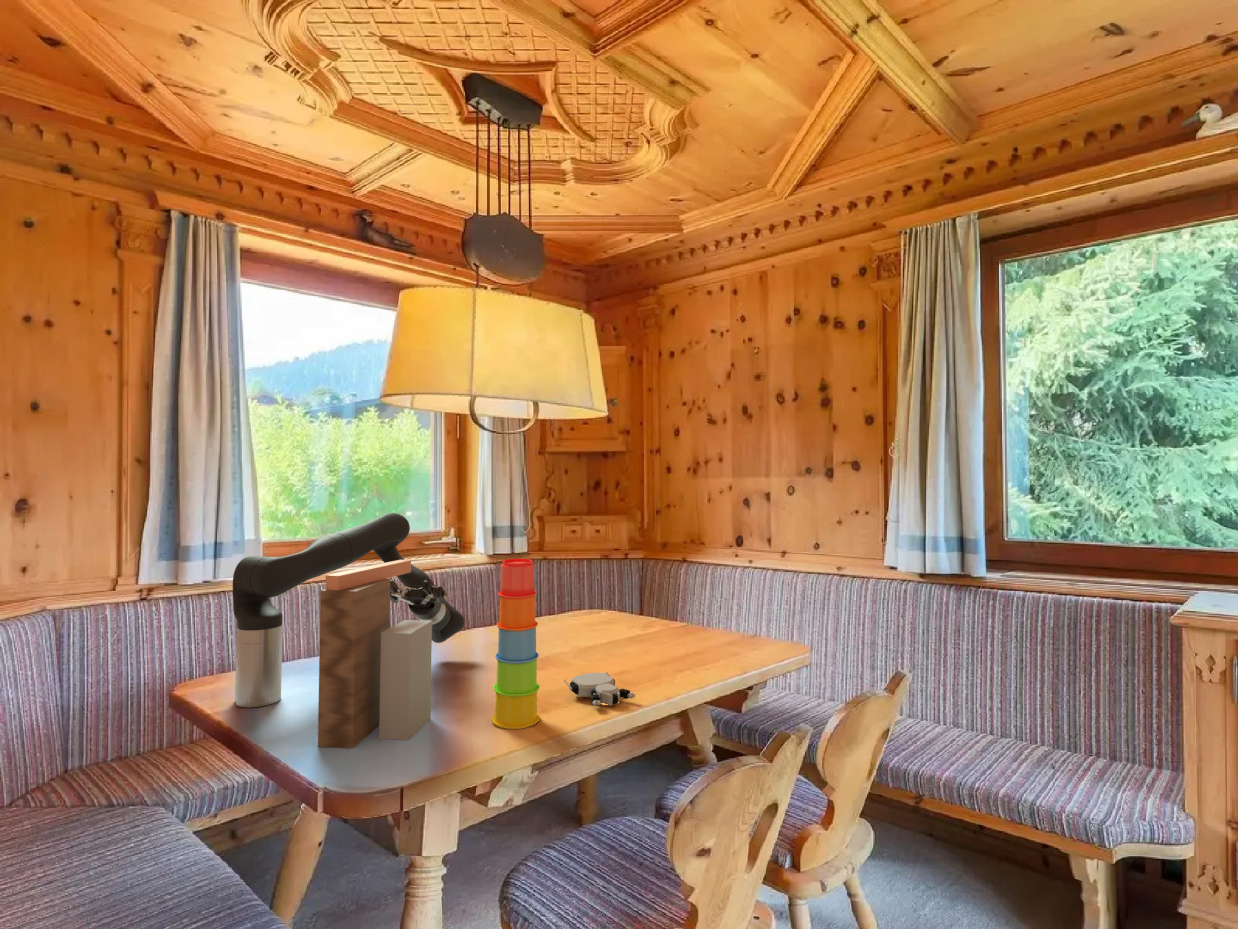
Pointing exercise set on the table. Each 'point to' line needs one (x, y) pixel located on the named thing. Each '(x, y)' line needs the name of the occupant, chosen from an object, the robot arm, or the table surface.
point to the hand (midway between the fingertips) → (407, 584)
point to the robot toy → (598, 688)
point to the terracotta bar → (367, 574)
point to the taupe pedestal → (405, 679)
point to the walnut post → (351, 662)
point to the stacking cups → (516, 648)
